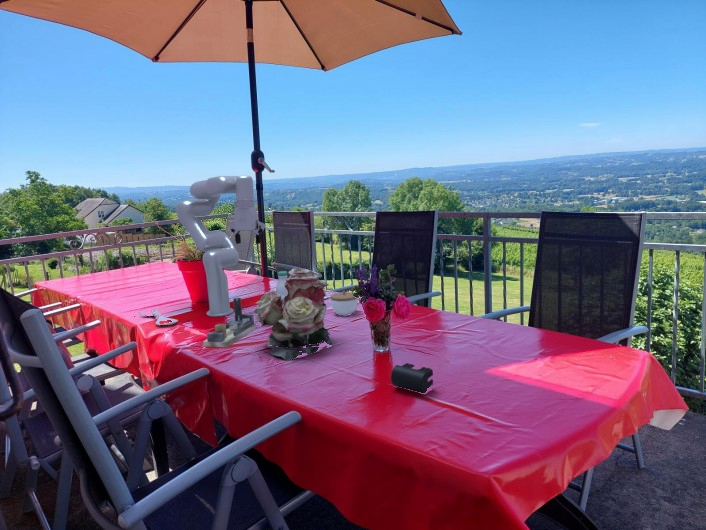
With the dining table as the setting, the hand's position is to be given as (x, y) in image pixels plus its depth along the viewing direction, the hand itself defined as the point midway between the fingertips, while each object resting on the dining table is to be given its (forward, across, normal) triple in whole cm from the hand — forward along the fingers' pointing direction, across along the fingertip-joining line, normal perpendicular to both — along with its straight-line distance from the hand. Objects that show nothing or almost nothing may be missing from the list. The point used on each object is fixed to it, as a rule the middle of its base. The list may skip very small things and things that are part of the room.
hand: (248, 243), depth 201 cm
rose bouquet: (+35, +35, -32) cm, 59 cm away
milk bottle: (+36, +9, +15) cm, 40 cm away
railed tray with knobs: (+35, +2, -23) cm, 42 cm away
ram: (+33, +2, -17) cm, 37 cm away
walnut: (+33, +2, -30) cm, 45 cm away
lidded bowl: (+35, +39, +15) cm, 55 cm away
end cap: (+34, +81, -60) cm, 107 cm away
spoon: (+36, -46, -6) cm, 59 cm away
